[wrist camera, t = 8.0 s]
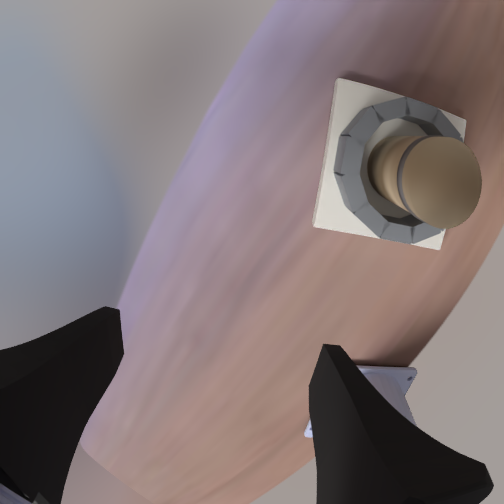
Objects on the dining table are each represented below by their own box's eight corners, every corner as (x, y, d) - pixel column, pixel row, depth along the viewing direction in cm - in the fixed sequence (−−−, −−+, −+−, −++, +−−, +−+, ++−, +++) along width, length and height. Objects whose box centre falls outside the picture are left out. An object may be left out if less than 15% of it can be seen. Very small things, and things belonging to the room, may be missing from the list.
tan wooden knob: (416, 209, 17) (467, 239, 12) (358, 192, 17) (396, 216, 12) (432, 147, 16) (490, 155, 10) (374, 126, 16) (419, 121, 10)
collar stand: (433, 245, 19) (453, 261, 16) (311, 222, 19) (318, 236, 16) (458, 120, 16) (483, 119, 13) (335, 80, 16) (346, 70, 13)
